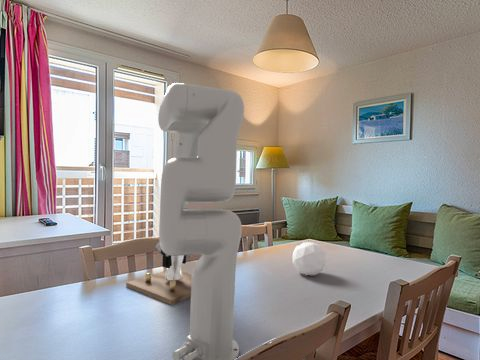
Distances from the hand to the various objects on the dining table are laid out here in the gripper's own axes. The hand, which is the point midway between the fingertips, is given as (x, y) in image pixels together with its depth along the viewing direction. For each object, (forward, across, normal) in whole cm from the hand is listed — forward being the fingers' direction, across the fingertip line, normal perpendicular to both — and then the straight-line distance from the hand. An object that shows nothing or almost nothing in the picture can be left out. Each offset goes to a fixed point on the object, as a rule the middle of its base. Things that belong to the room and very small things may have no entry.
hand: (174, 264), depth 107 cm
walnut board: (+7, 0, 0) cm, 7 cm away
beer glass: (+5, 0, 0) cm, 5 cm away
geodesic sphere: (+8, +45, -30) cm, 55 cm away
